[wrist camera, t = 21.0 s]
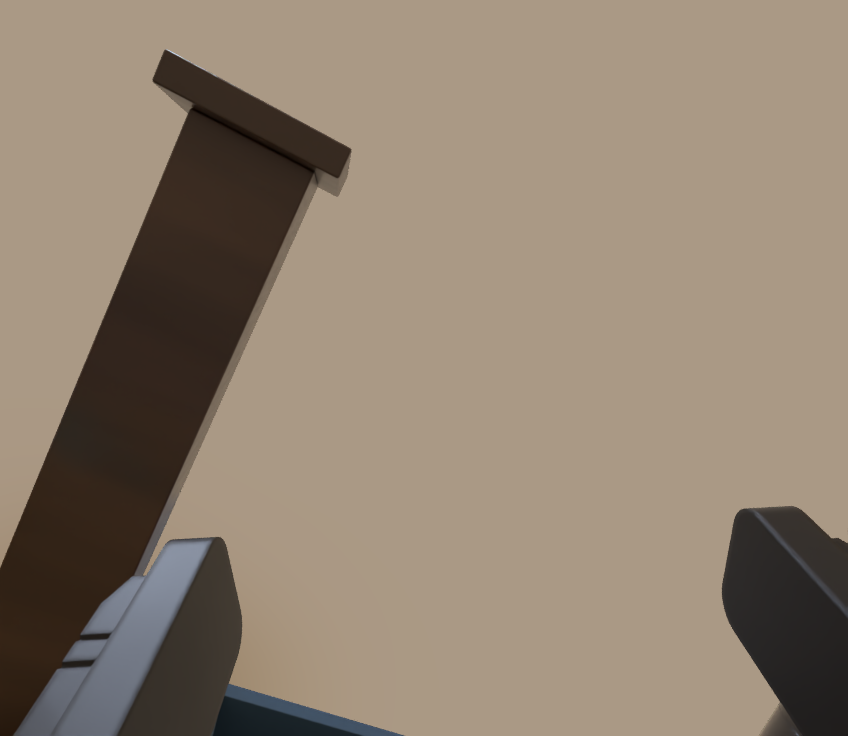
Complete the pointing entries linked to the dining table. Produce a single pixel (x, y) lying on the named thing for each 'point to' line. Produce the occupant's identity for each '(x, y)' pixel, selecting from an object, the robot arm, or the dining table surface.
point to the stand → (156, 365)
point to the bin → (281, 718)
